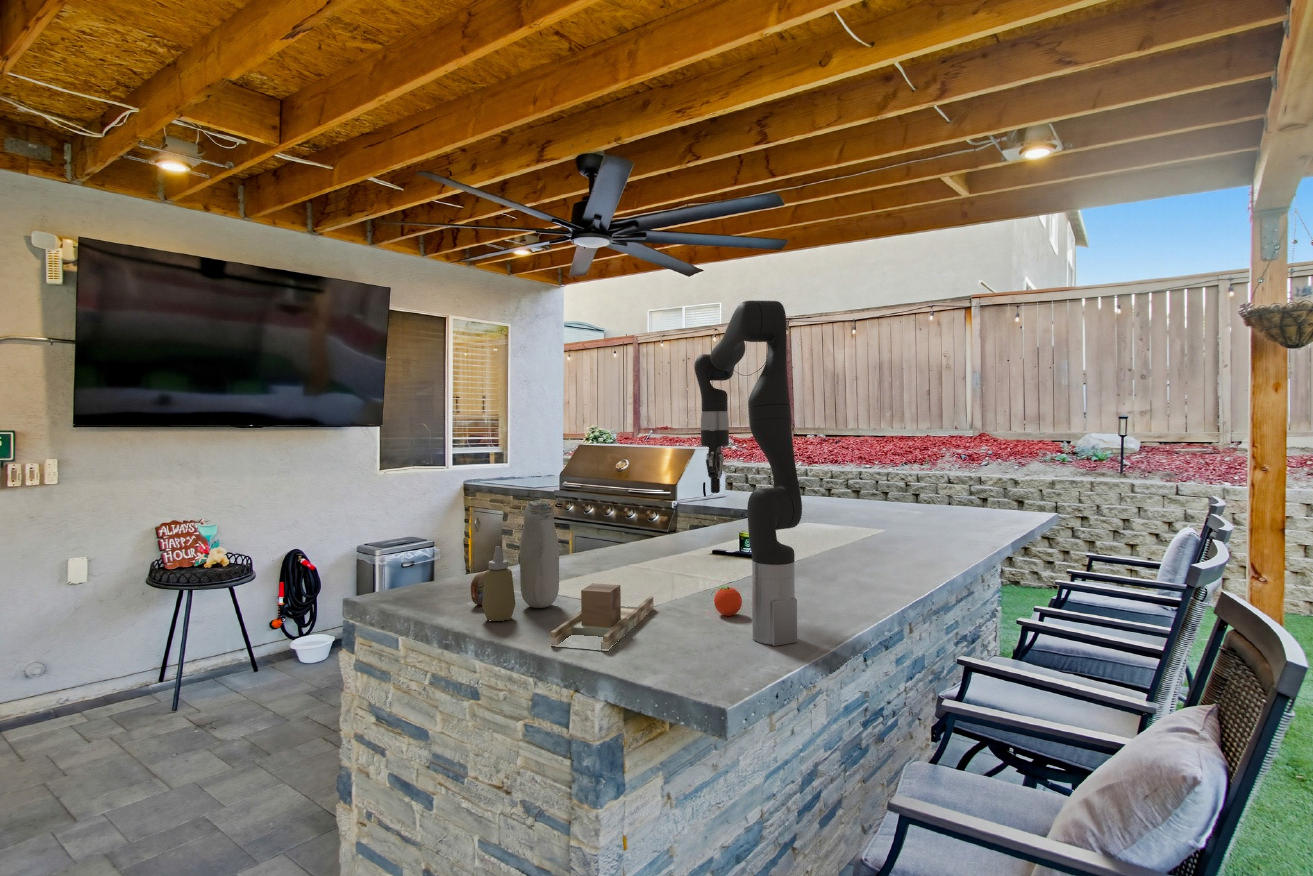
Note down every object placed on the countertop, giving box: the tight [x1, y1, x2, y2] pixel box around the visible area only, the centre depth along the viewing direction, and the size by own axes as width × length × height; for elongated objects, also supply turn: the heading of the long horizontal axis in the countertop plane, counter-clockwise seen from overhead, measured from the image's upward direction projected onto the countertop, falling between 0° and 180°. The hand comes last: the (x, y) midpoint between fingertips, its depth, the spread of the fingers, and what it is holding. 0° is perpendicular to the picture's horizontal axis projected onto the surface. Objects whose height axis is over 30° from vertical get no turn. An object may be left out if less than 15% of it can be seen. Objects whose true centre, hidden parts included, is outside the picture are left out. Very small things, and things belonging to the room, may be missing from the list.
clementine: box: [710, 586, 743, 617], centre depth 168 cm, size 8×7×7 cm
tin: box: [470, 570, 487, 606], centre depth 184 cm, size 15×3×8 cm, turn 162°
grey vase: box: [519, 499, 560, 609], centre depth 177 cm, size 10×10×28 cm
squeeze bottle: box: [481, 545, 517, 622], centre depth 166 cm, size 8×8×18 cm
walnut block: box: [580, 583, 622, 628], centre depth 156 cm, size 7×7×8 cm
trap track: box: [550, 596, 654, 649], centre depth 159 cm, size 34×13×3 cm, turn 164°
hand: (715, 492), depth 182 cm, fingers closed
